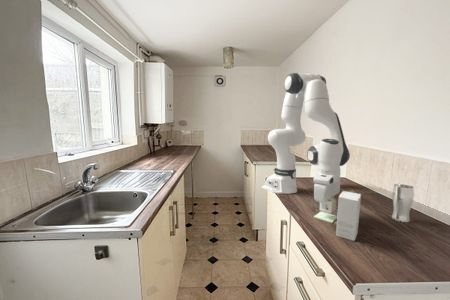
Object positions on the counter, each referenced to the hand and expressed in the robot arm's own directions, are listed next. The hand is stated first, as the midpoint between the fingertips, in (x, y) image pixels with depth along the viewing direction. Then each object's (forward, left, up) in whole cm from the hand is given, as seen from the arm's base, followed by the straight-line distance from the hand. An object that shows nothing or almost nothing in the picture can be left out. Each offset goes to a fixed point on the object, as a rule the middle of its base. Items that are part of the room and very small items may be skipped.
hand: (327, 206), depth 95 cm
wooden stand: (+7, +2, -5) cm, 9 cm away
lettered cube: (0, 0, -2) cm, 2 cm away
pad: (0, 0, -5) cm, 5 cm away
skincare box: (+11, -10, -5) cm, 16 cm away
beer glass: (+23, +21, -5) cm, 32 cm away
